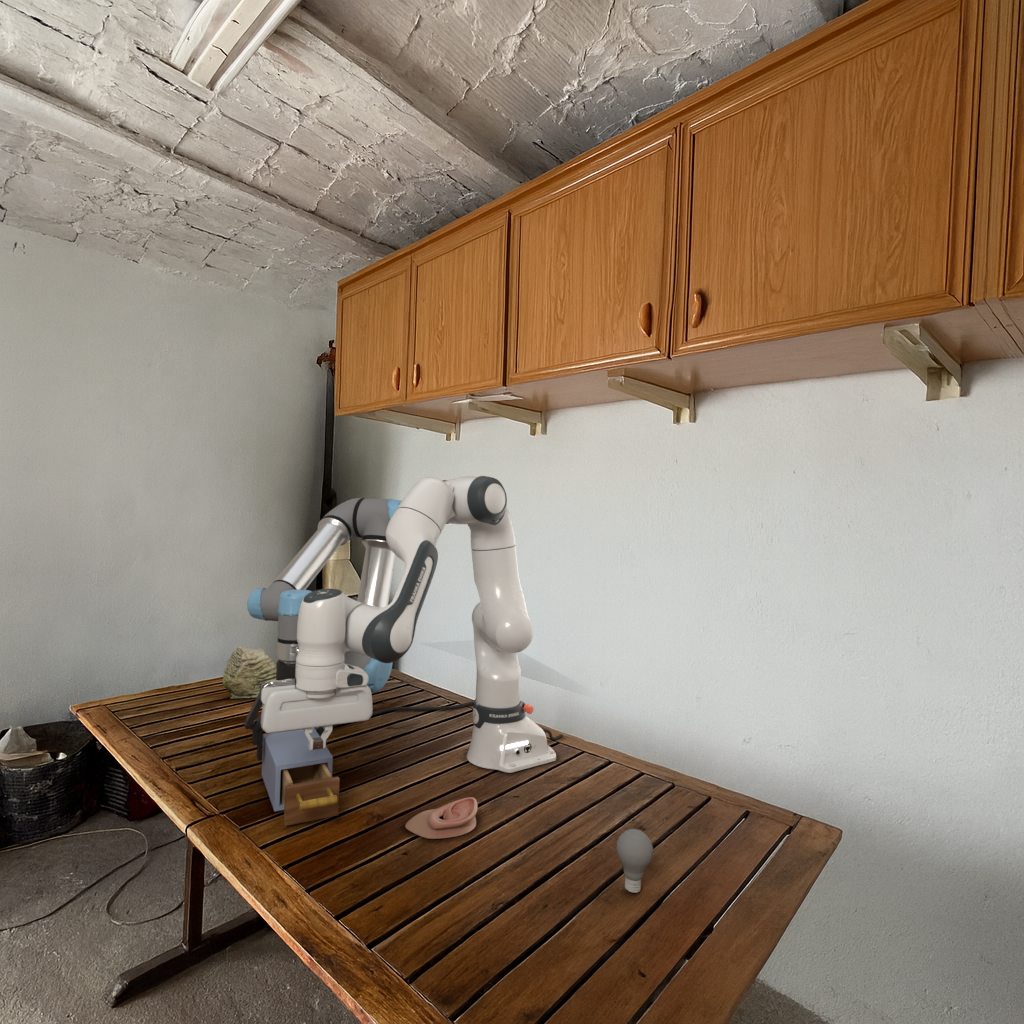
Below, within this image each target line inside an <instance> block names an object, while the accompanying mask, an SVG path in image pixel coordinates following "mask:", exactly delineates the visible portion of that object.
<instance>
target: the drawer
mask: <svg viewBox="0 0 1024 1024" xmlns="http://www.w3.org/2000/svg"><path fill="white" fill-rule="evenodd" d="M340 781H341V778H340V777H339V776H333V774H332V775H331V773H330V772H329V770H328V768H327V766H326V765H325V763H321V764H315V765H308V766H302V767H296V768H290V769H283V770H281V780H280V798H281V801H282V804H283V806H284V810H283V825H284V826H285V827H288V826H292V825H296V824H297V825H298V824H302V823H306V822H312V821H316V820H317V821H318V820H321V819H327V818H333V817H337V816H339V806H340V805H339V804H340Z"/></svg>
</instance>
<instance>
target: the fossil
mask: <svg viewBox="0 0 1024 1024" xmlns="http://www.w3.org/2000/svg"><path fill="white" fill-rule="evenodd" d="M276 665H277V664H276V663H275V662H274V660H273V659H272V658H271V657H270V656H269V655H268V654H267V653H266V652H265V650H264V649H263V648H260V647H258V648H251V647H247V646H246V647H245V646H238V647H237V648H236V649H235V650H233V651H232V653H231V656H230V657H229V659H228V660H227V663H226V666H225V668H224V671H223V675H222V676H223V677H222V685H223V687H224V688H225V690H226V691H228V693H229V698H230V699H250V698H257V696H258V694H259V692H260V685H261V683H263V682H264V683H266V684H267V683H270V681H272V680H276Z"/></svg>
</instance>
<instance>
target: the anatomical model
mask: <svg viewBox="0 0 1024 1024" xmlns="http://www.w3.org/2000/svg"><path fill="white" fill-rule="evenodd" d="M478 805H479V804H478V801H477V799H476V798H475V797H471V796H469V797H464V798H460V799H457V800H454V801H452V802H449V803H446V804H444V805H442V806H440V807H437V808H435V809H427V810H424V811H421V812H419V813H417V814H416V815H413V816H412V817H411V818H410V819H409V820H408V821H407V822H406V823H405V825H404V827H405V829H406V830H408V831H409V832H411V833H413V834H415V835H416V836H418V837H422V838H424V839H427V840H428V839H430V840H437V839H438V840H439V839H449V838H455V837H459V836H463V835H466V834H468V833H470V832H472V831H473V830H474V829H475V828H476V826H477V818H476V815H477V813H478V807H479V806H478Z"/></svg>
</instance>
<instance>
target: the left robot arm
mask: <svg viewBox="0 0 1024 1024" xmlns="http://www.w3.org/2000/svg"><path fill="white" fill-rule="evenodd" d="M401 502H402V500H401V499H393V498H365V497H356V498H351V499H348V500H346V501H344V502H342V503H340V504H338V505H336V506H335V507H334V508H332V509H331V510H329V511H328V512H327V513H326V514H325V515H324V516H323V517H322V518H321V519H320V520H319V522H318V524H317V530H316V531H315V532H314V533H313V535H311V537H310V538H309V539H308V540H307V542H306V543H305V544H304V545H303V546H302V547H301V549H300V550H299V551H298V552H297V553H296V554H295V556H294V557H293V558H292V559H291V561H289V563H287V565H286V566H285V567H284V568H283V569H282V571H281V572H280V574H279V575H278V576H277V577H276V578H275V579H274V580H273V582H272V583H271V584H270V585H269V586H268V587H267V588H265V587H261V588H256V589H253V590H252V591H251V592H250V594H249V596H248V599H247V603H246V609H247V611H248V614H249V616H251V618H253V619H257V620H261V621H265V622H268V621H270V622H278V623H277V644H276V645H277V646H276V659H277V660H278V661H276V664H275V665H276V680H284V679H291V678H295V671H296V657H297V654H298V650H299V646H298V642H297V624H298V615H299V609H300V605H301V602H302V600H303V598H304V597H305V596H306V595H307V594H308V593H310V592H313V591H312V590H309V589H307V588H308V587H309V586H310V585H311V583H312V582H313V581H314V580H315V578H317V576H318V574H319V573H320V572H321V571H322V569H323V568H324V567H325V565H326V564H327V563H328V562H329V560H330V559H331V558H332V556H333V555H334V554H335V553H336V551H337V550H338V549H339V547H342V546H344V545H346V544H347V543H348V542H349V540H352V539H355V538H359V539H360V538H361V544H362V545H363V546H364V548H365V552H364V559H363V564H362V571H361V576H360V581H359V582H360V583H359V588H358V592H357V593H358V594H357V599H356V601H358V602H361V603H364V604H369V605H372V606H377V607H382V608H384V607H386V606H388V605H389V601H390V595H391V589H392V581H393V577H394V571H395V570H394V569H395V564H396V557H397V556H396V555H395V554H394V553H393V552H392V550H391V549H390V547H389V546H388V543H387V540H386V529H387V526H388V523H389V521H390V519H391V518H392V516H393V514H394V513H395V511H396V509H397V508H398V506H399V505H400V503H401ZM344 664H349V665H353V666H357V667H359V668H361V669H362V670H364V671H365V672H366V673H367V675H368V677H369V680H368V683H367V684H366V685H367V686H368V687H369V688H370V690H371V694H374V693H375V694H376V693H378V692H380V691H381V690H382V689H383V688H384V687H385V685H386V684H387V682H388V681H389V678H390V675H391V673H392V669H393V664H394V662H392V663H382V662H380V661H378V660H375V659H373V658H371V657H369V656H366V655H362V654H359V653H355V652H353V651H347V652H345V654H344ZM264 685H266V683H264V682H263V683H261V685H260V692H259V694H258V696H257V697H255V701H254V702H253V704H252V706H251V708H250V710H249V711H248V714H247V716H246V717H245V719H244V721H243V726H244V729H246V730H251V733H252V734H251V736H252V737H251V741H252V744H253V746H256V759H257V761H259V762H260V761H261V762H262V752H263V734H264V730H263V729H262V727H261V713H260V714H259V712H260V710H261V708H262V707H263V704H262V702H261V689H262V688H263V686H264ZM268 686H270V685H268ZM268 686H267V687H268ZM473 701H474V700H472V701H468V702H464V703H460V704H455V705H448V706H447V705H446V706H423V707H421V706H420V707H417V706H397V707H396V706H394V707H388V708H383V709H381V710H380V709H379V710H376V711H373V712H372V716H377V715H381V714H384V713H389V712H394V711H416V712H417V711H420V712H421V711H445V710H446V711H447V710H455V709H459V708H464V707H467V706H473V705H474V702H473ZM258 714H259V715H258ZM257 716H258V717H257ZM340 725H341V724H336V725H333V728H332V730H333V729H335V728H337V727H339V726H340ZM313 728H315V730H316V731H317V733H318V734H319V736H320V737H321V735H322V733H323V731H324V728H323V726H320V727H313ZM298 730H300V729H298Z"/></svg>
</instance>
